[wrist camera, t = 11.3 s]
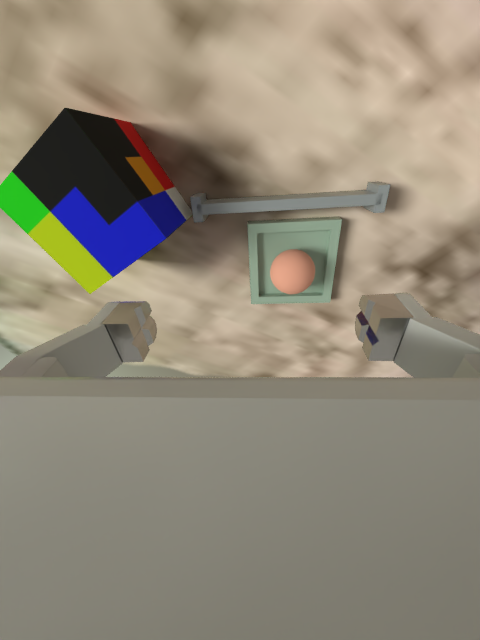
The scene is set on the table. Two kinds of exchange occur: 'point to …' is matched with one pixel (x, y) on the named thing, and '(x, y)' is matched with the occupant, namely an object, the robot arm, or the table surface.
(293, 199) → the bar with end supports
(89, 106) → the table surface
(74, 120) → the puzzle toy
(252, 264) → the dish
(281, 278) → the ball
